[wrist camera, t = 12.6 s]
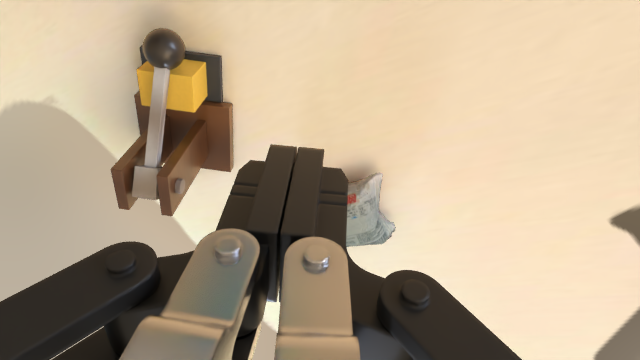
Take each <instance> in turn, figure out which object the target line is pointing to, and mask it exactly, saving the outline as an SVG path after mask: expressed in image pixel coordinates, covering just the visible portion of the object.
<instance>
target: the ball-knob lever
mask: <svg viewBox="0 0 640 360" xmlns="http://www.w3.org/2000/svg"><path fill="white" fill-rule="evenodd" d="M143 53H144V56H145V58H146V60H147V61H148V62H149V63H150V64H151V65H152V66H153V67H154V75H153V85H152V95H151V105H150V114H149V124H148V134H147V144H146V154H145V164H144V165H140V166H135V169H134V179H133V189H132V197H137V198H144V199H151V200H157V199H159V192H158V185H157V177H156V175H157V174H158V173H159V171H160V170H161V168H162V167H160V163H161V153H162V144H163V134H164V125H165V115H166V106H167V96H168V87H169V77H170V70H172V69H175V68H176V67H178V66H179V65H180V64H181V63H182V61H183V60H184V57H185V45H184V43H183V41H182V39H181V38H180V36H179V35H177V34H176V33H175V32H173V31H171V30H169V29H164V28H159V29H155V30H153V31H151V32H150V33H149V34H148V35H147V36H146V37H145V39H144V42H143Z"/></svg>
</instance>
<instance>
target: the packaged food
mask: <svg viewBox="0 0 640 360" xmlns="http://www.w3.org/2000/svg"><path fill="white" fill-rule="evenodd" d="M382 177H383V174H382V173H375V174H373V175H371V176H369V177H367V178H365V179H362V180H359V181H356V182H351V183H348V202H347V233H346V247H349V246H360V245H373V244H383V243H384V242H386V241H387V239H389V238H390V237H391V234H392V232H394V230H395V228H396V227H395V225H394V223H393V222H390V221H388V220H387V219H386V218H385V217H384V216H383V215H382V214H381V213H380V211H379V198H380V188H381V182H382Z"/></svg>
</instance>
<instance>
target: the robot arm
mask: <svg viewBox="0 0 640 360" xmlns="http://www.w3.org/2000/svg"><path fill="white" fill-rule="evenodd" d="M323 158H324V149H315V148H304V147H299V148H298V152H297V147H293V146H282V145H272V144H271V145H270V148H269V151H268V155H267V158H266V161H265V162H264V161H254V160H250V161H249V162H248V163H247V164H246V165H244V166H243V167H242V168H241V169H240V170H239V171H238V174H237V177H236V179H235V182H234V185H233V187H232V190H231V192H230V195H229V197H228V200H227V202H226V205H225V208H224V210H223V213H222V215H221V218H220V221H219V223H218V226H217V228H216V231H215V232H212V233H210V234H208V235H207V236H205V237H204V238H203V239H202V240H201V241H200V242H199V244H198V245H197V247H196V249H195V250H194V251H191V252H188V253H184V254H180V255H172V256H166V257H159V258H157V256H156V254H155V252H154V250H153V249H152V248H151V247H149V246H148V245H146V244H143V243H140V242H122V243H117V244H114V245H111V246H109V247H106V248H104V249H102V250H100V251H98V252H96V253H95V254H92V255H91V256H89V257H87V258H85V259H83V260H81V261H79V262H77V263H75V264H73V265H71V266H69V267H67V268H65V269H63V270H61V271H59V272H57V273H56V274H53V275H52V276H50V277H48V278H46V279H44V280H42V281H40V282H38V283H36V284H34V285H32V286H30V287H29V288H26V289H24V290H22V291H20V292H18V293H16V294H14V295H13V296H11V297H9V298H7V299H5V300H3V301H1V302H0V360H50V359H51V358H53V357H55V356H56V355H58V354H59V353H61V352H63V351H64V350H66V349H67V348H69V347H71V346H72V345H74V344H75V343H77V342H78V341H80V340H82V339H83V338H85V337H86V336H88V335H90V334H91V333H93V332H94V331H96V330H98V329H99V328H101V327H102V326H104V327H103V328H102V329H100V330H98V331H97V332H95V333H93V334H92V335H90V336H89V337H87V338H85V339H84V340H82V341H81V342H79V343H78V344H76V345H74V346H73V347H71V348H70V349H68V350H66V351H65V352H63V353H62V354H60V355H58V356H57V357H55V358H54V359H52V360H252V358H253V354H254V351H255V348H256V344H257V341H258V338H259V334H260V331H261V321H262V318H263V315H264V310H265V305H266V301H270V302H277V296H278V291H279V302H281V303H280V315H279V327H278V333H277V338H276V346H275V358H274V360H522V359H521V358H520V357H518V356H517V355H516V354H515V353H514V352H513V351H512V350H511V349H510V348H509V347H508V346H506V345H505V344H504V343H503V342H502V341H501V340H500V339H499V338H498V337H497V336H496V335H494V334H493V333H492V332H491V331H490V330H489V329H488V328H487V327H486V326H485V325H484V324H483V323H481V322H480V321H479V320H478V319H477V318H476V317H475V316H474V315H473V314H472V313H471V312H469V311H468V310H467V309H466V308H465V307H464V306H463V305H462V304H461V303H460V302H459V301H458V300H456V299H455V298H454V297H453V296H452V295H451V294H450V293H449V292H448V291H447V290H446V289H444V288H443V287H442V286H441V285H440V284H439V283H438V282H437V281H436V280H434V279H433V278H431V277H430V276H428V275H426V274H424V273H421V272H418V271H412V270H401V271H396V272H394V273H391V274H390V275H388V276H387V277H386V278H382V277H380V276H377V275H374V274H372V273H369V272H367V271H365V270H363V269H362V268H360V267H359V266H358V265H356V264H355V263H354V262H353V261H352V259H351V258H350V256H349V254H348V252H347V249H346V233H347V202H348V179H347V178H346V176H345V174H344V173H343V171H342V169H338V168H328V167H323Z"/></svg>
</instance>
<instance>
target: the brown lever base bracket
mask: <svg viewBox="0 0 640 360" xmlns="http://www.w3.org/2000/svg"><path fill="white" fill-rule="evenodd" d="M134 97H135V103H136V109H137V116H138V122H139V129H140V135H141V136H140V137H139V138H138V139H137V140H136V142H135V143H134V144H133V145H132V146H131V147H130V148H129V149H128V150H127V152H126V153H125V154H124V155H123V156H122V157H121V158H120V159H119V161H118V162H117V163H116V164H115V165H114V166H113V167H112V168H111V173H112V178H113V182H114V187H115V192H116V196H117V201H118V206H119V208H120V209H126V210H129V209H130V208H131V207H132V205H133V204H134V202H135V201H136V200H137V199H138V198H137V197H132V189H133V179H134V169H135V166H140V165H144V164H145V154H146V144H147V134H148V124H149V114H150V106H144V105H142V104H141V97H140V91H139V92H137V93H136V94H135V95H134ZM163 163H165V164H164V166H163V167H162V168H161V170H160V171H159V173H158V174H157V175H156V177H157V185H158V192H159V199H160V206H161V213H162V215H167V216H173V214H174V212H175V210H176V209H177V207H178V205H179V204H180V202H181V200H182V199H183V197H184V195H185V194H186V192H187V190H188V189H189V187H190V185H191V184H192V182H193V180H194V179H195V177H196V175H197V173H198V172H199V170H200V168H205V169H212V170H219V171H226V172H231V170H232V168H233V120H232V104H231V103H224V102H214V101H206V100H204V101H203V102H202V104H201V105H200V106H199V107H198V109H197V110H196V111H195V112H187V111H180V110H172V109H166V115H165V125H164V134H163V144H162V153H161V163H160V167H161V166H162V165H163Z"/></svg>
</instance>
